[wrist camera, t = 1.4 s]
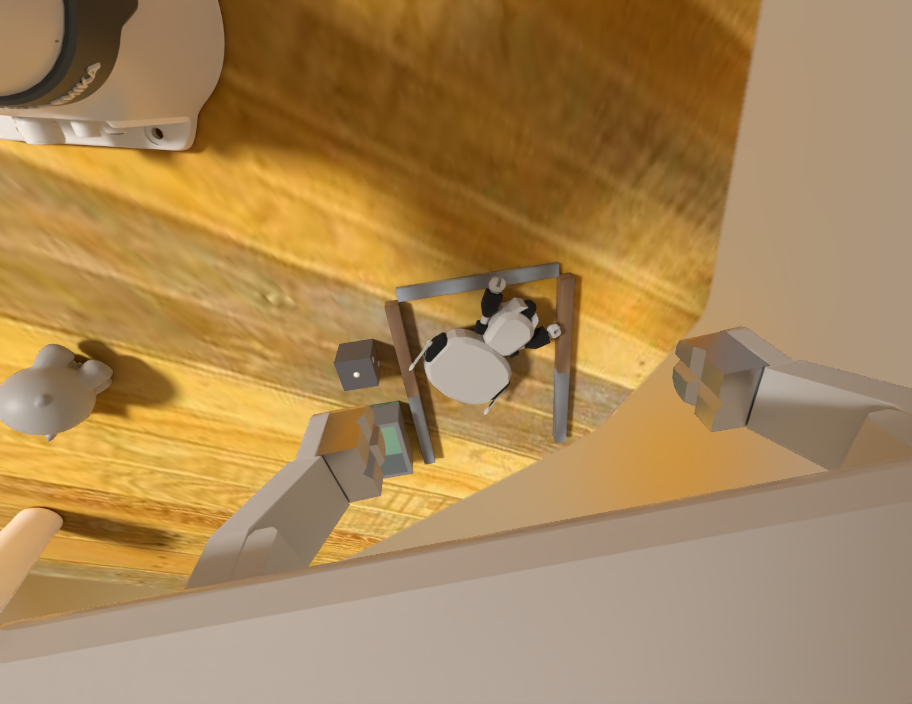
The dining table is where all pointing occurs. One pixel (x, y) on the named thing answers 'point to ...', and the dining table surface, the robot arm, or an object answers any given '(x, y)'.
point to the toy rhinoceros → (52, 392)
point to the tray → (394, 439)
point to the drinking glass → (24, 547)
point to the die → (358, 365)
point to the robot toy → (484, 348)
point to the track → (475, 283)
